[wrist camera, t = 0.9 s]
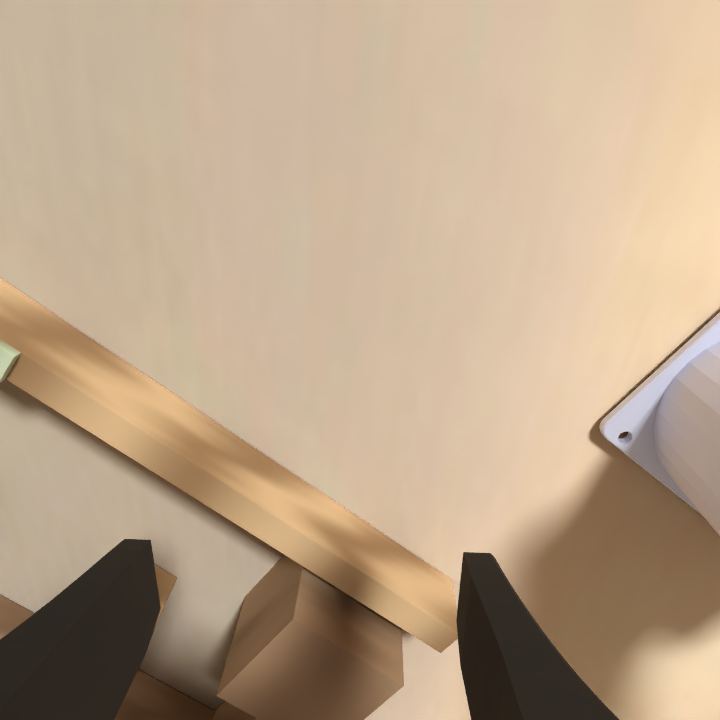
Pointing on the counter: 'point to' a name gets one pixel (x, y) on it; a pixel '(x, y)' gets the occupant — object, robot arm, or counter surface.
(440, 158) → the counter surface
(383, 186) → the counter surface
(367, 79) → the counter surface
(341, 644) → the walnut block
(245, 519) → the trap lane
